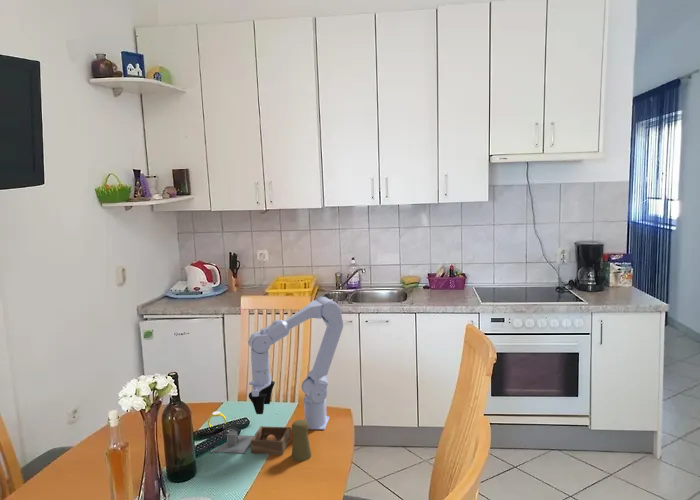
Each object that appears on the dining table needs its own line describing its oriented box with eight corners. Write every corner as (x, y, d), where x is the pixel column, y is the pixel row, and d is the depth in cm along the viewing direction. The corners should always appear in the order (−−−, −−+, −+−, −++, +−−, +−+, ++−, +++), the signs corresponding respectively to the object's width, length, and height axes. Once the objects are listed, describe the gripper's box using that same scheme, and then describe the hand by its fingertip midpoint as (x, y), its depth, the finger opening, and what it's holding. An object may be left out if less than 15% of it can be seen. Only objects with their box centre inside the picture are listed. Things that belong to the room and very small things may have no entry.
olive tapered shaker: (308, 461, 158) (306, 426, 156) (288, 460, 159) (287, 425, 158) (313, 451, 164) (312, 418, 162) (294, 450, 165) (293, 416, 164)
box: (261, 437, 174) (260, 426, 173) (290, 439, 172) (290, 427, 172) (251, 453, 164) (250, 441, 163) (282, 454, 162) (282, 442, 162)
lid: (223, 437, 176) (222, 424, 176) (254, 438, 175) (254, 425, 174) (210, 454, 165) (209, 440, 165) (243, 455, 164) (243, 442, 163)
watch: (208, 432, 179) (206, 416, 178) (209, 428, 182) (207, 412, 181) (226, 429, 180) (224, 413, 179) (227, 426, 183) (225, 409, 182)
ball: (268, 441, 170) (267, 432, 169) (277, 442, 169) (276, 433, 169) (265, 446, 167) (264, 437, 166) (274, 446, 166) (274, 437, 166)
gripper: (255, 361, 180) (258, 399, 182) (241, 377, 166) (244, 418, 168) (275, 361, 179) (278, 399, 181) (263, 377, 165) (265, 418, 167)
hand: (263, 408), depth 174 cm, fingers open, 7 cm apart
